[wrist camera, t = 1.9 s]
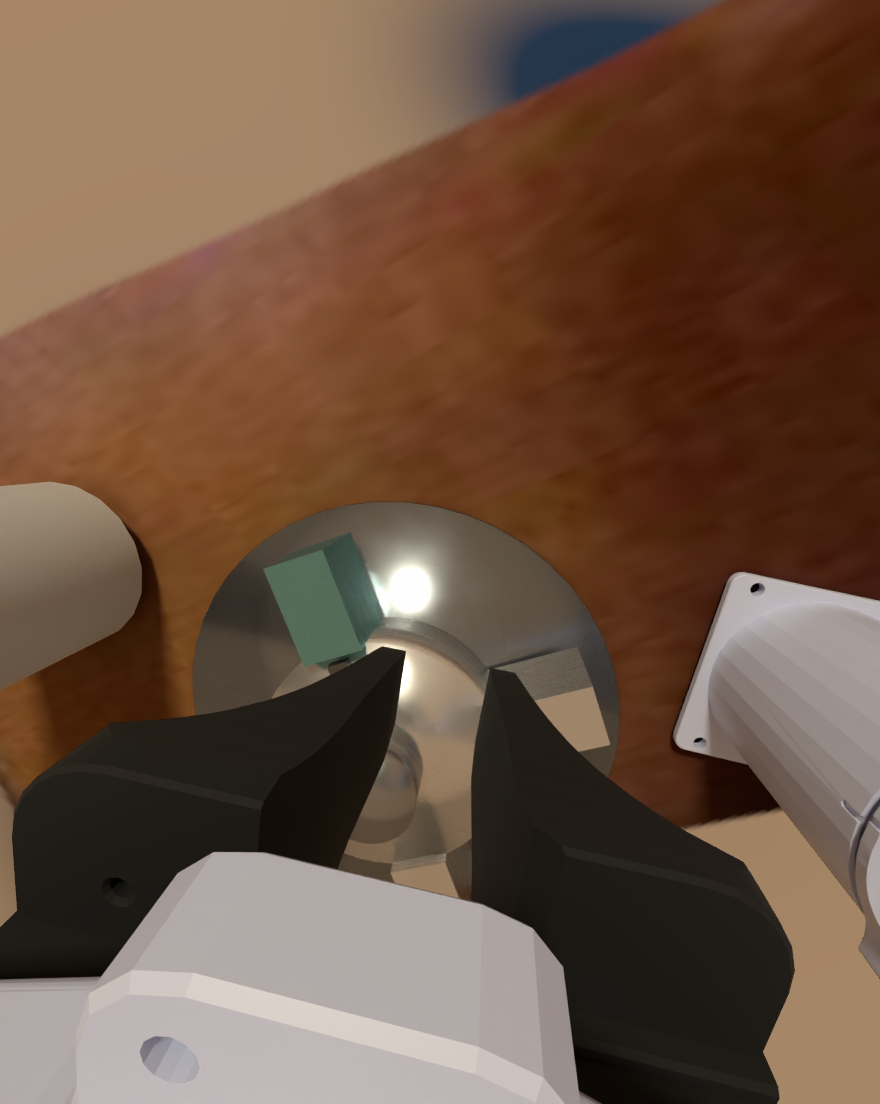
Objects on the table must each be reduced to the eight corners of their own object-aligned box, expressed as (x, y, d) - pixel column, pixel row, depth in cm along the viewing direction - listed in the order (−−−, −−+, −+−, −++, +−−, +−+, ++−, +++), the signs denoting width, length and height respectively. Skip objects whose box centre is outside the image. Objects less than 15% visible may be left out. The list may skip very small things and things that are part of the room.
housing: (678, 557, 19) (748, 602, 14) (555, 933, 24) (571, 1075, 19) (211, 458, 21) (110, 464, 15) (182, 833, 26) (98, 939, 20)
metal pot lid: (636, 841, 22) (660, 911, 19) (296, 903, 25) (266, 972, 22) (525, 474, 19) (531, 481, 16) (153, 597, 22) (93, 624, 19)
